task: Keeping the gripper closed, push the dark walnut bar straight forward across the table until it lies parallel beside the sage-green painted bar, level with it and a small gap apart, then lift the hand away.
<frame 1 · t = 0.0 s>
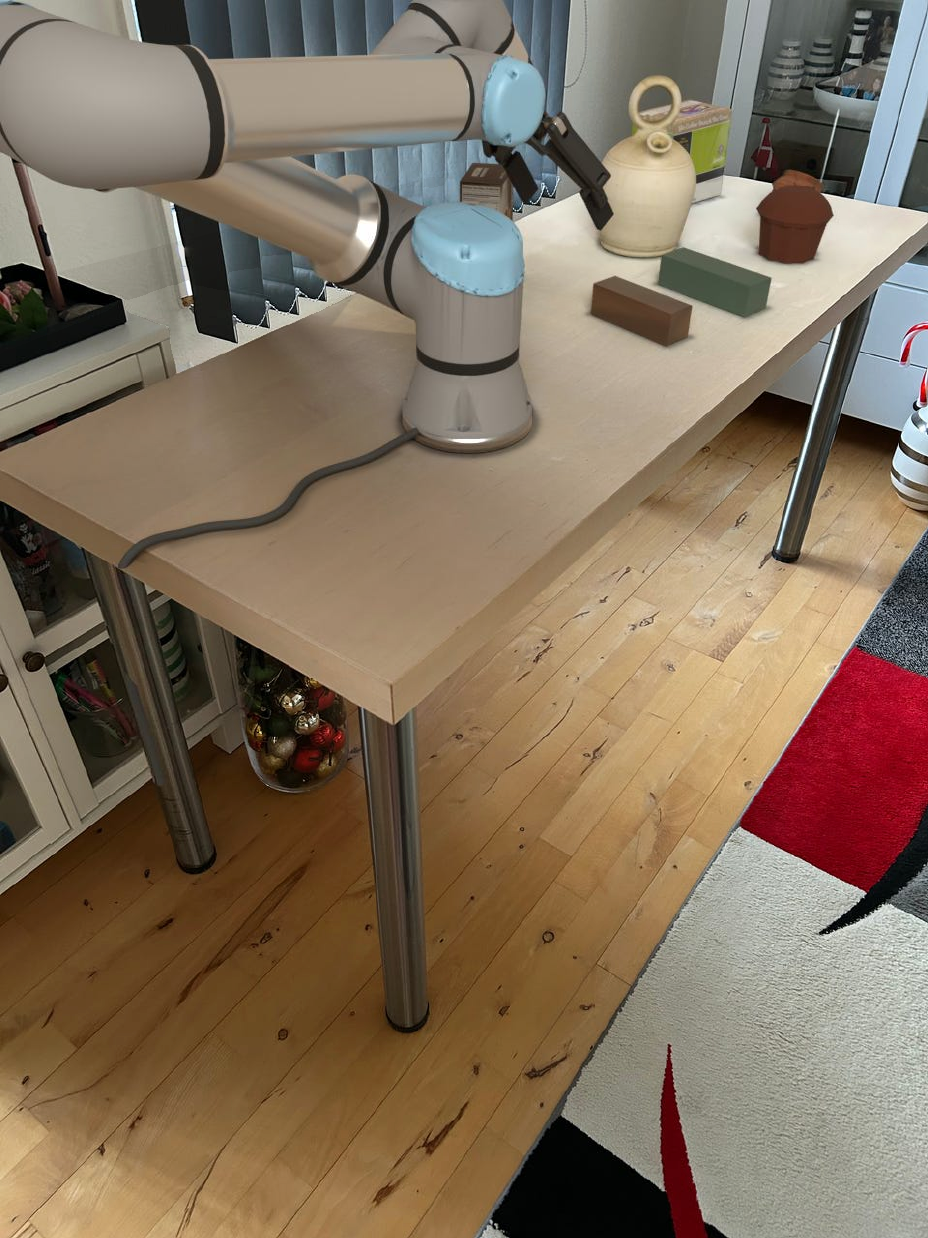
hand: (566, 208, 131), 15 cm above the table, tool tilted 35°, fingers open, 13 cm apart
green bar: (710, 296, 148), on the table
jug: (638, 246, 164), on the table
coffee box: (485, 285, 151), on the table
bread bun: (791, 217, 175), on the table
muffin: (785, 254, 161), on the table
tea box: (672, 199, 183), on the table
walnut bar: (638, 325, 140), on the table
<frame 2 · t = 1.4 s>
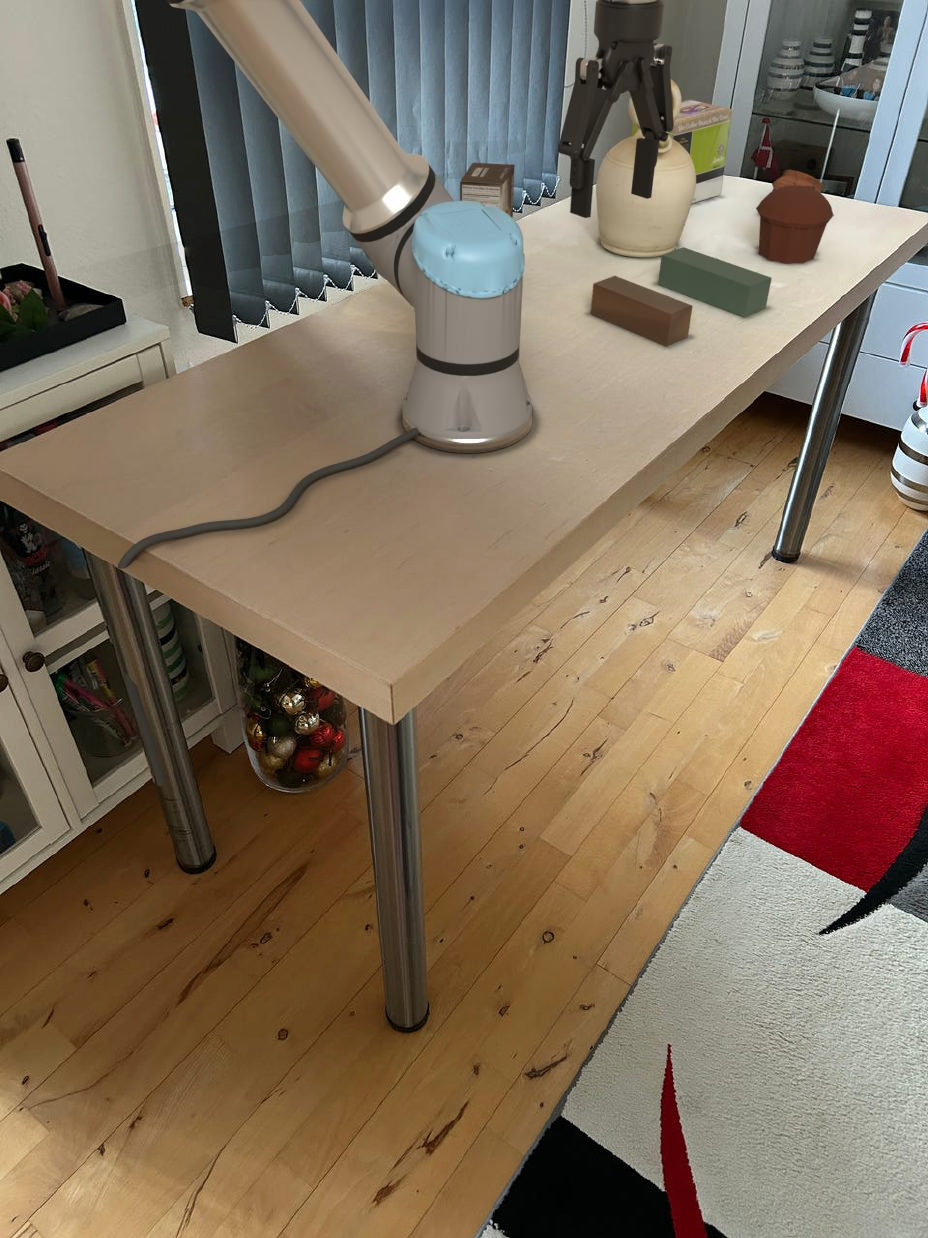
hand: (611, 204, 124), 18 cm above the table, tool pointing down, fingers open, 10 cm apart
nothing on the table moved.
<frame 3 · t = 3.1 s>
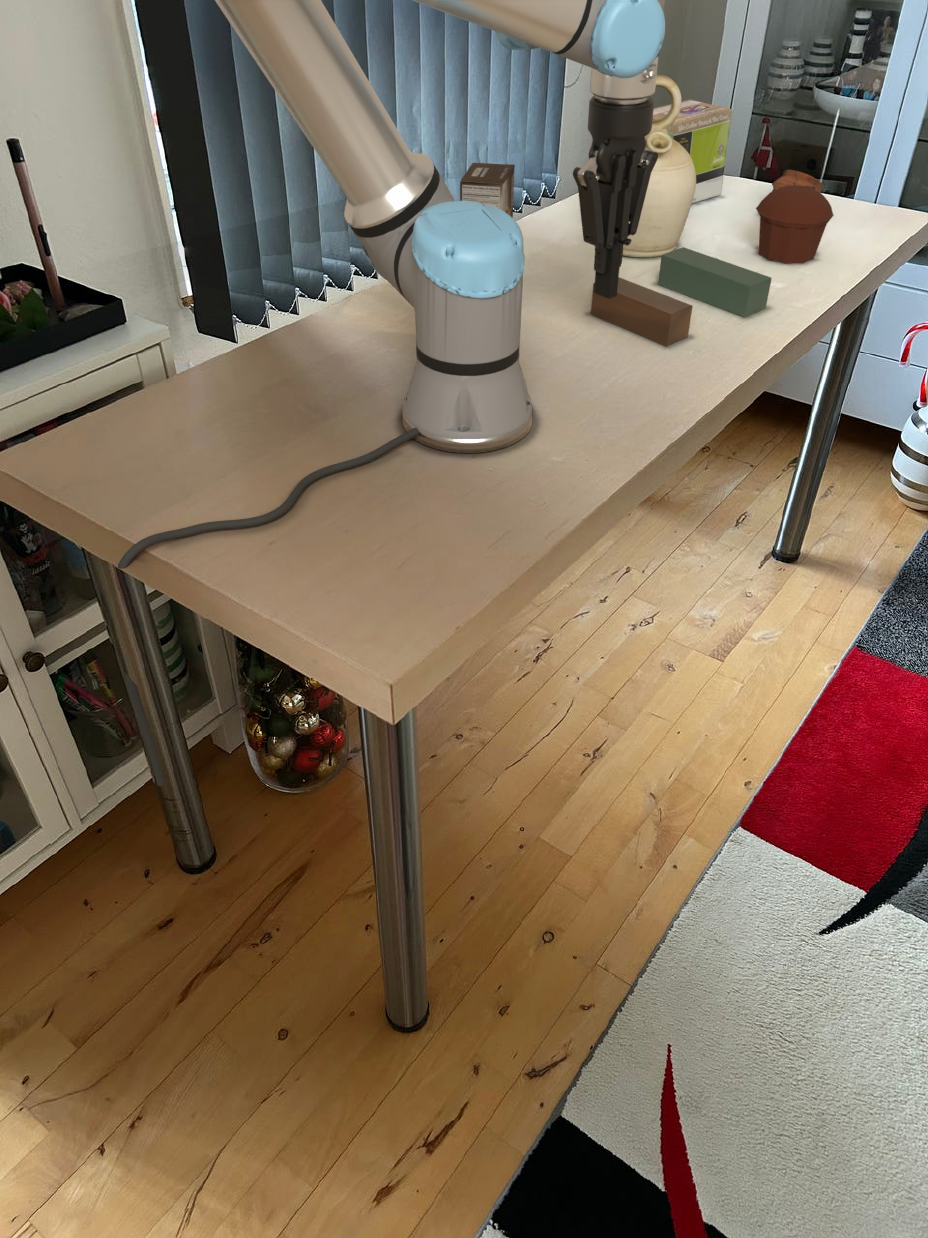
hand: (605, 293, 132), 7 cm above the table, tool pointing down, fingers closed
nothing on the table moved.
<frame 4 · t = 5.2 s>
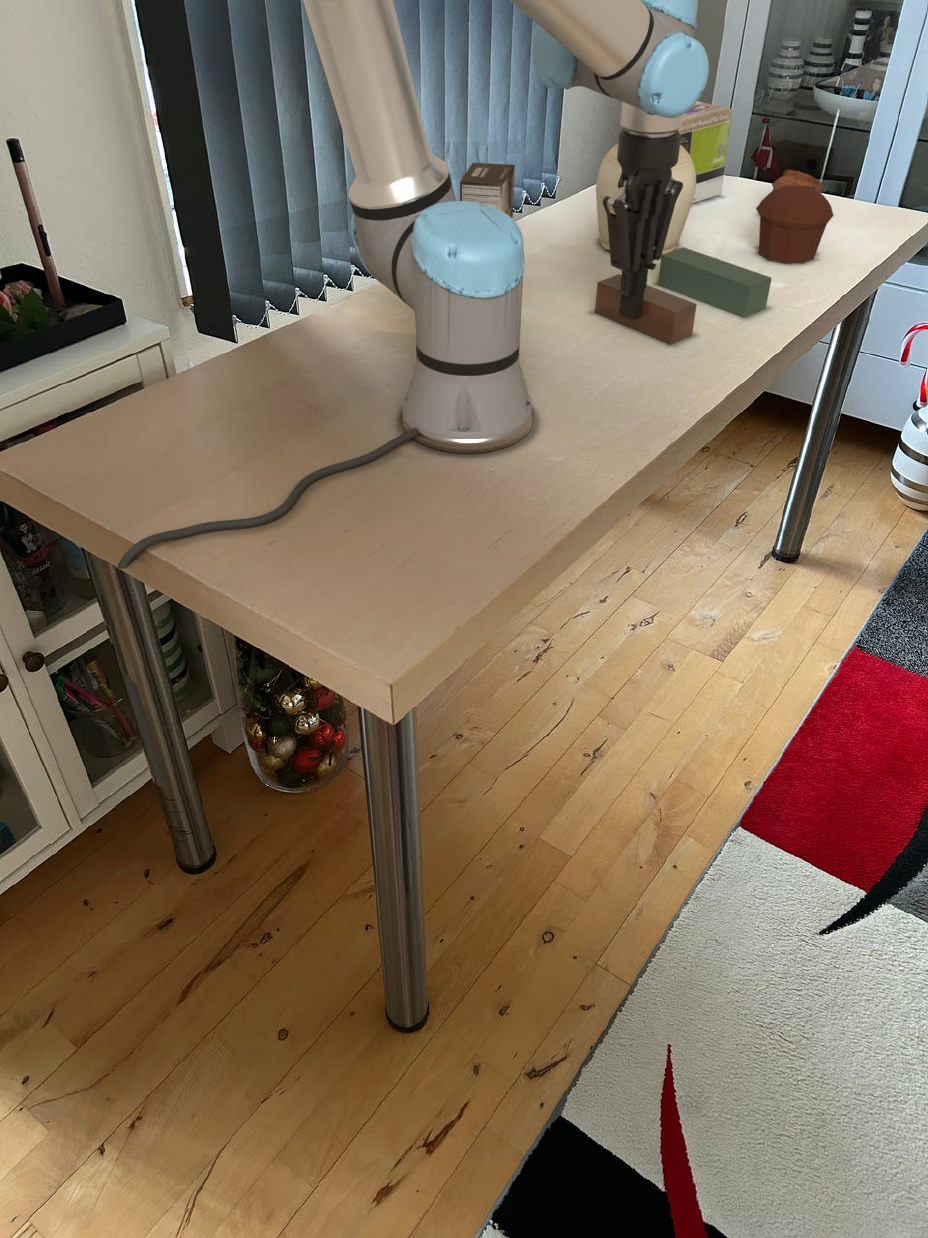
hand: (630, 315, 137), 2 cm above the table, tool pointing down, fingers closed
walnut bar: (642, 323, 140), on the table, touching gripper
everything else where it was.
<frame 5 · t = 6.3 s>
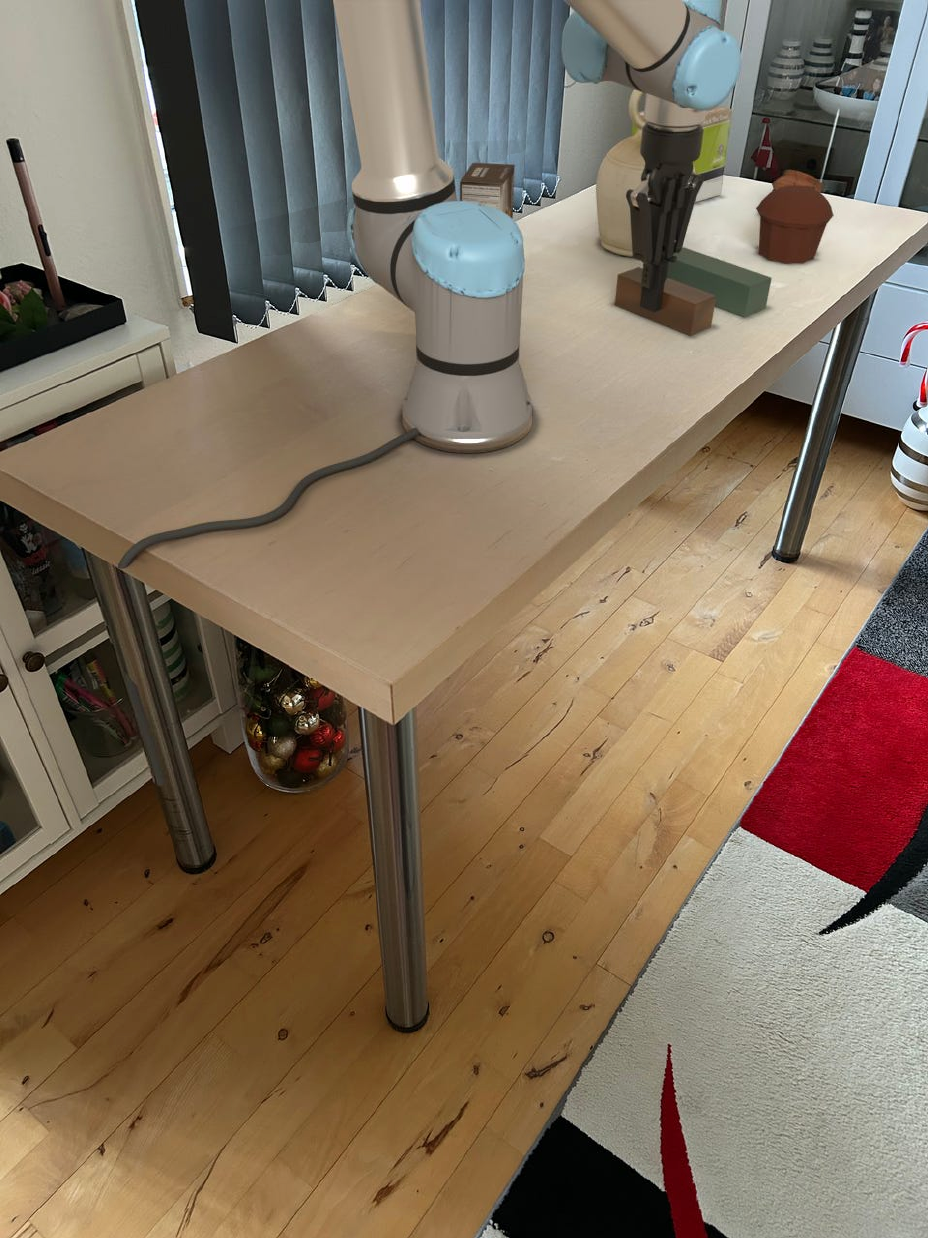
hand: (650, 307, 140), 2 cm above the table, tool pointing down, fingers closed
walnut bar: (661, 315, 142), on the table, touching gripper
everything else where it was.
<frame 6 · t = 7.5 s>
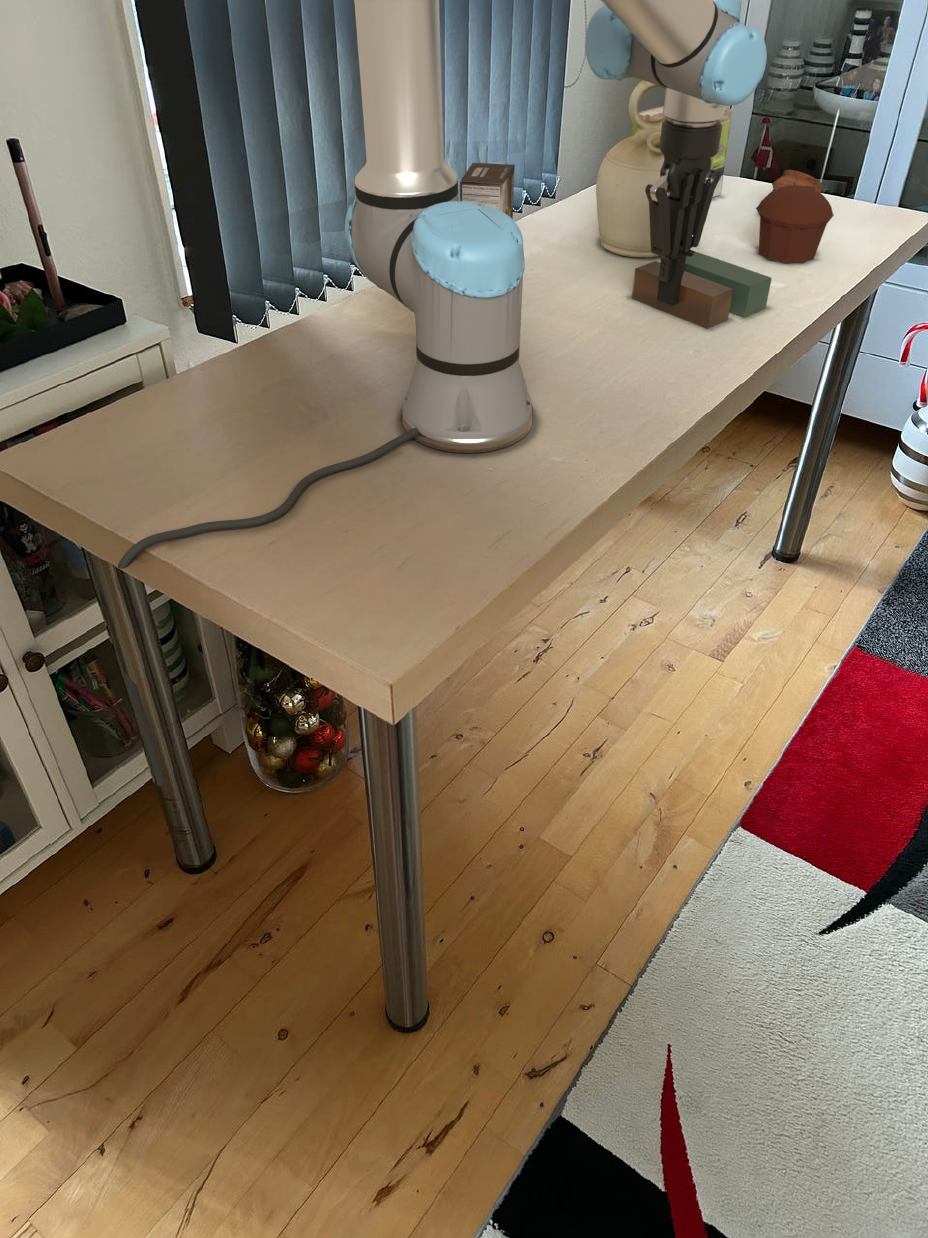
hand: (667, 301, 141), 2 cm above the table, tool pointing down, fingers closed
walnut bar: (678, 308, 144), on the table, touching gripper
everything else where it was.
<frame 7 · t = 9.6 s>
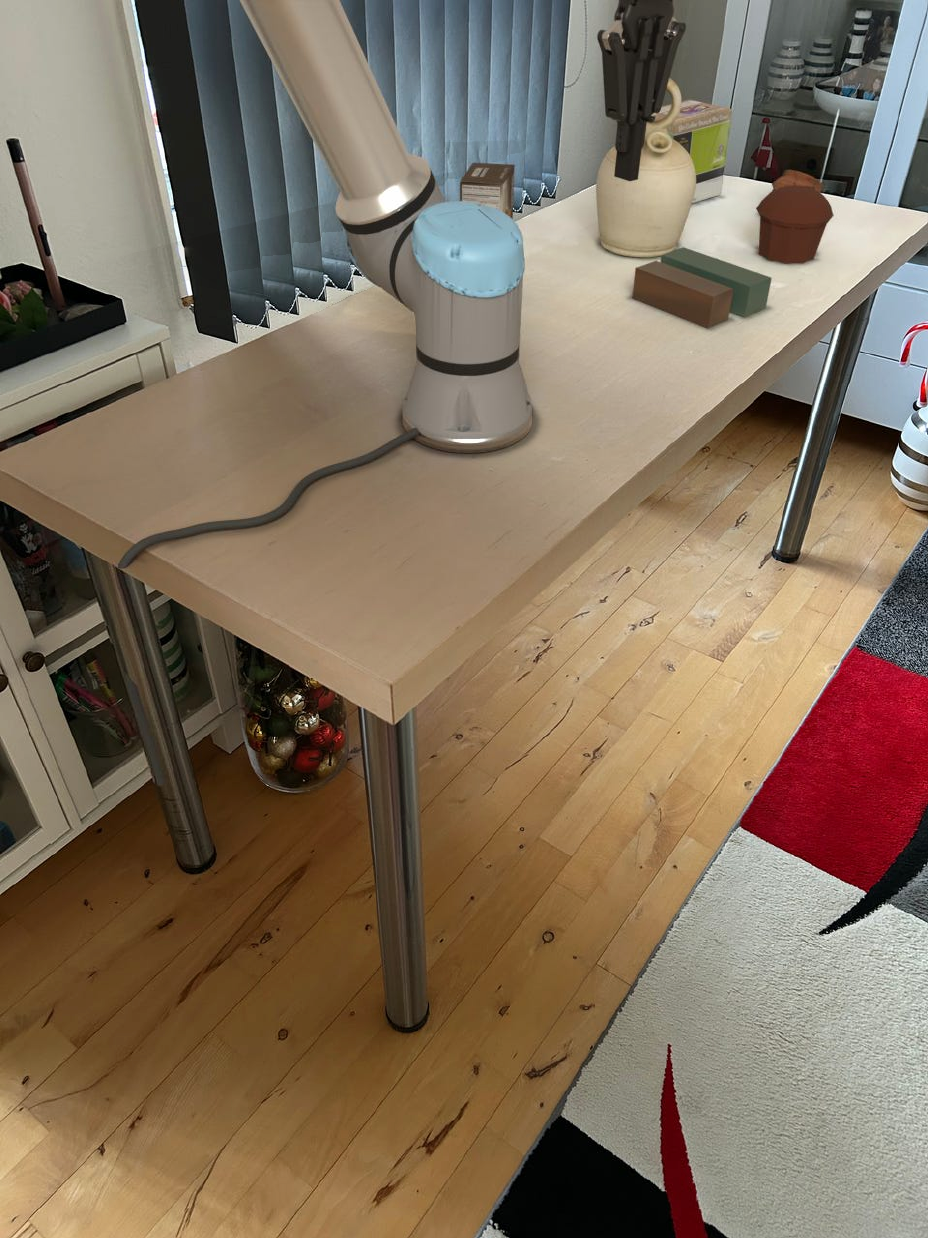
hand: (626, 177, 126), 20 cm above the table, tool pointing down, fingers closed
walnut bar: (679, 308, 144), on the table
everything else where it was.
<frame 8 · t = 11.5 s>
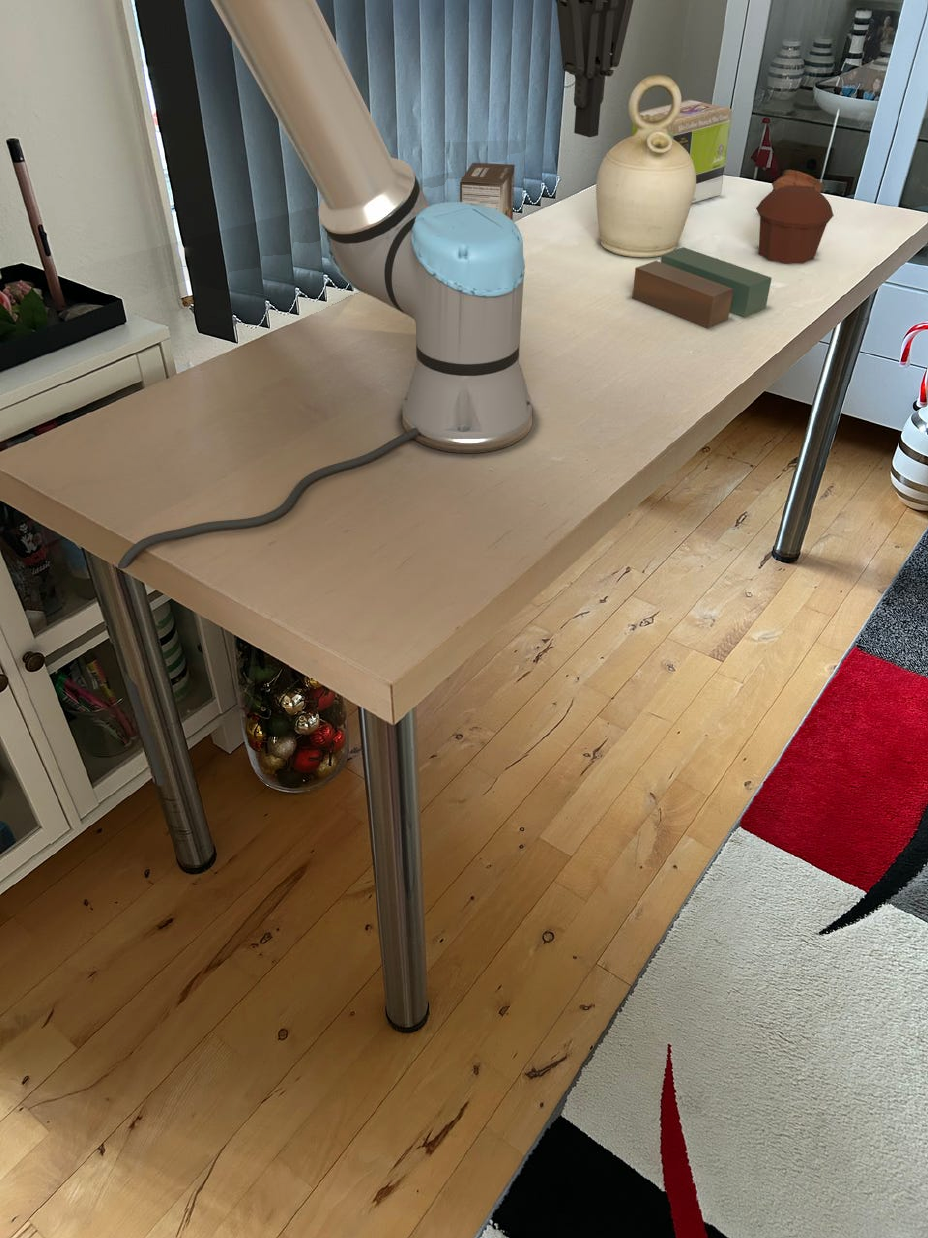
hand: (586, 133, 125), 24 cm above the table, tool pointing down, fingers closed
nothing on the table moved.
at the end: walnut bar 0.2 cm from the target spot on the table beside the green bar, on the table; walnut bar tilted 0°; green bar moved 0.0 cm from its start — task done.
